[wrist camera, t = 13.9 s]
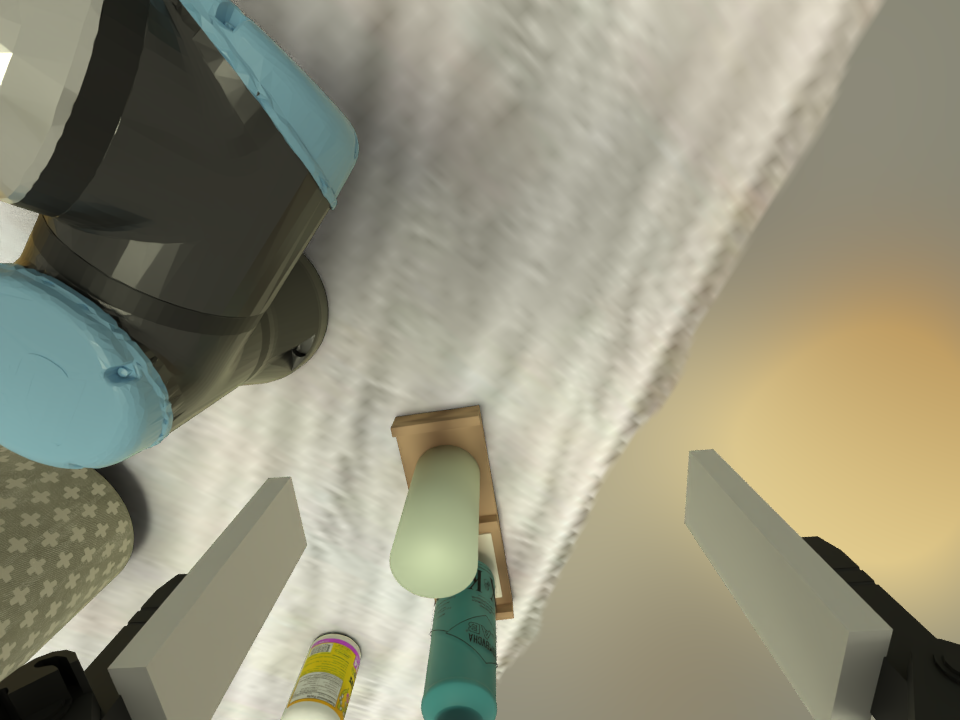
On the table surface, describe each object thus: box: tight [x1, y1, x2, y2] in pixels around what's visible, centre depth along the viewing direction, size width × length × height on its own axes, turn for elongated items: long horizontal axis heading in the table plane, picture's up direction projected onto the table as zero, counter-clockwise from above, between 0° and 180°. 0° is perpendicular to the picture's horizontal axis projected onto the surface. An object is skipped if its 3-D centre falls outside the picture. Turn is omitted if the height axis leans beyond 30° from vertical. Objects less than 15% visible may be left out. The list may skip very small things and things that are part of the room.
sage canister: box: [390, 445, 480, 598], centre depth 41 cm, size 7×7×13 cm
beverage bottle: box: [421, 560, 498, 720], centre depth 42 cm, size 6×7×20 cm
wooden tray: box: [391, 405, 514, 620], centre depth 50 cm, size 9×26×3 cm, turn 9°
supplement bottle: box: [281, 634, 361, 720], centre depth 51 cm, size 7×7×13 cm
